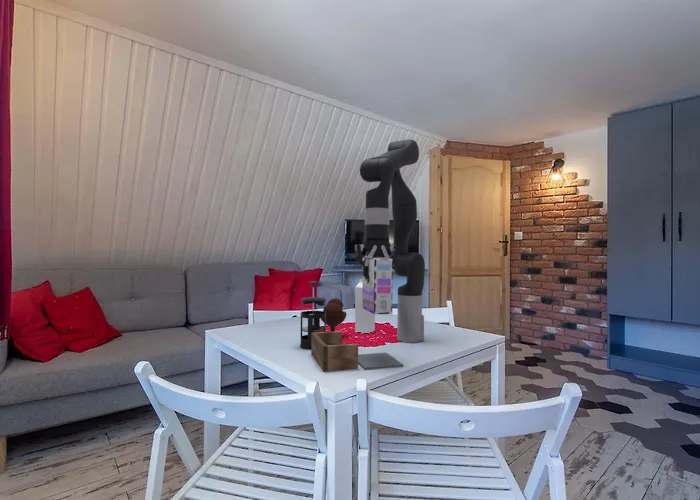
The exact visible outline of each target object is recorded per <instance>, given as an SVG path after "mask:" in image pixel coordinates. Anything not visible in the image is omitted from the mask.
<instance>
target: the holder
mask: <svg viewBox="0 0 700 500" xmlns="http://www.w3.org/2000/svg"><path fill="white" fill-rule="evenodd" d="M310 351H311V352H310V355H311V357H313V359H314V361H315V362H316V363H317V365H318V366H319V368H320V369H321V371H322V372H323V373H324V372H325V373H326V372H338V371H349V370H350V371H351V370H359V364H358V355H359V344H358V343H348V344H347V343H346V344H343V331H341V330H339V331H337V330H335V331H334V332H330V331H326V332H324V331H322V332H315V333H314V332H313V333H311V350H310Z"/></svg>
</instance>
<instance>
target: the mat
mask: <svg viewBox="0 0 700 500" xmlns="http://www.w3.org/2000/svg"><path fill="white" fill-rule="evenodd" d="M358 366H360V367H361V368H362V369H363V370H364V371H367V370H379V369H381V370H382V369H390V368H391V369H394V368H403V367H404V364H403V363H401V362H400V361H399V360H398V359H396V358H395V357H394V356H392V355H391V354H390V353H388V352H375V353H364V354H363V353H362V354H359V353H358Z"/></svg>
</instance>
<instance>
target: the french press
mask: <svg viewBox="0 0 700 500" xmlns="http://www.w3.org/2000/svg"><path fill="white" fill-rule="evenodd" d="M307 283H308V284H311V288H312V296H308V297H302V298H300V301H301V306H305V305H307V304H312V310H304V311H301V312H300V345H299V348H300V349H303V350H309V351H311V333H315V332H327V325H326V312H324V311H323V310H315V304H316V305H317V306H319V307H323V306H324V307H325V306H326V303H325V301H326V300H327V298H325V297H318V296H315V287H316V284H320V282H319V281H315V280H311V281H308V282H307ZM324 317H325V318H324ZM303 318H304V319H307V325H306V326H303ZM321 318H324V322H323V325H324V326H321ZM303 332H305V333H307V334H305V335H303Z"/></svg>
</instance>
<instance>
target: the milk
mask: <svg viewBox="0 0 700 500" xmlns="http://www.w3.org/2000/svg"><path fill="white" fill-rule="evenodd" d="M358 281H359V282H358V283H357V285H356V286H355V290H354V295H355V299H354V303H355V304H354V307H355V308H354V311H355V312H354V332H355V333H357V332H361V333H360V334H363V333H369V334H371V333H370V332H372V333H374V332H373V331H375V332H376V330H375V329H376V328H375V327H376V325H375V324H376V323H375V322H376V314H373V313H371V312H369V311H367V310H365V309H363V278H359V280H358Z"/></svg>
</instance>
